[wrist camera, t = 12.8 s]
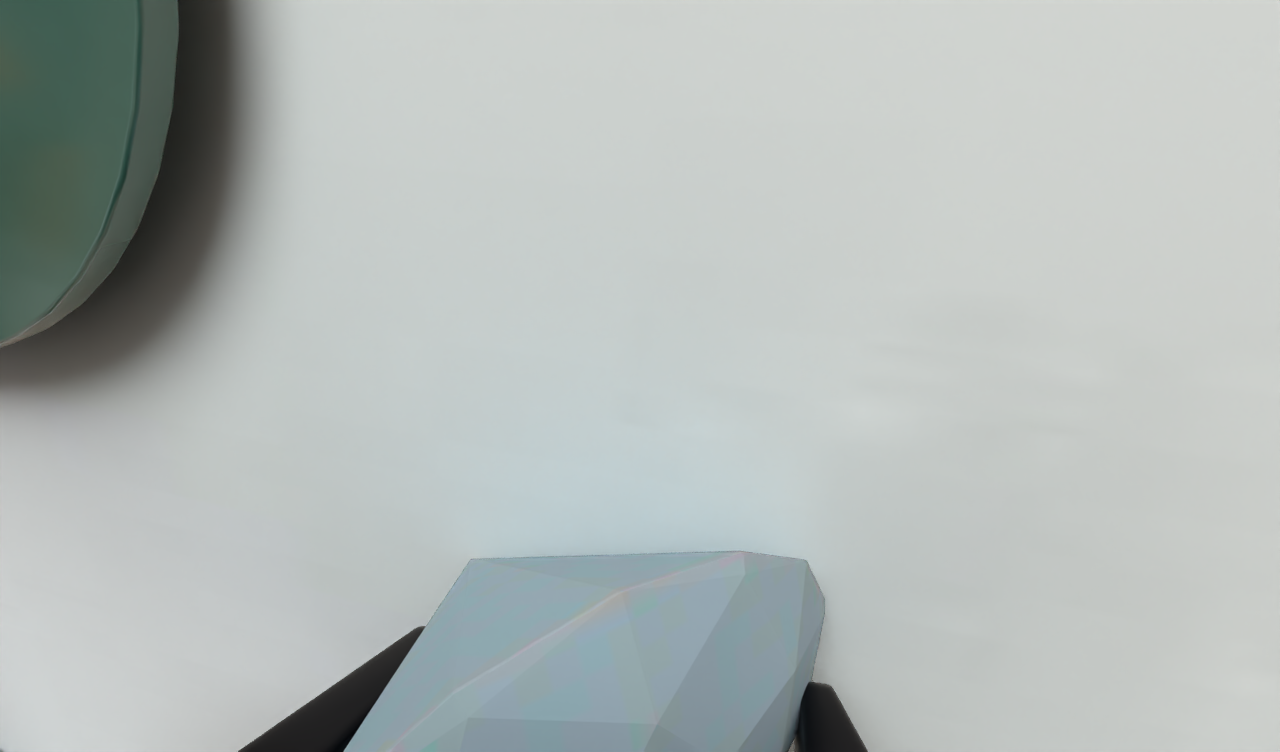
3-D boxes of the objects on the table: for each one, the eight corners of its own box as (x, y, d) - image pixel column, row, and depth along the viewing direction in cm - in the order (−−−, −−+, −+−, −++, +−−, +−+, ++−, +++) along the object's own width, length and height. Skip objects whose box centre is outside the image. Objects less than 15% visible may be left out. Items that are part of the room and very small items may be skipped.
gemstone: (126, 791, 8) (116, 1362, 5) (252, 305, 6) (383, 783, 3) (567, 672, 14) (704, 919, 10) (728, 384, 11) (972, 584, 8)
